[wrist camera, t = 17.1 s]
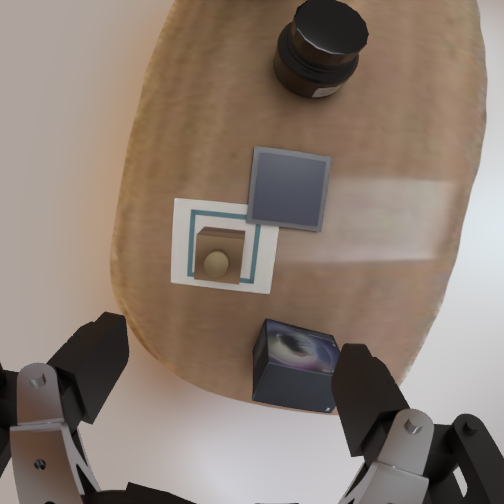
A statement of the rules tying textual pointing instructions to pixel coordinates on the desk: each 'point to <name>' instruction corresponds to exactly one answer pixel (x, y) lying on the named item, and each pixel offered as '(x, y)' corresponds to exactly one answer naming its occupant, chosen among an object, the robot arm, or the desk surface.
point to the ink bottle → (319, 48)
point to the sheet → (229, 217)
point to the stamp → (219, 255)
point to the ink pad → (288, 189)
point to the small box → (294, 367)
